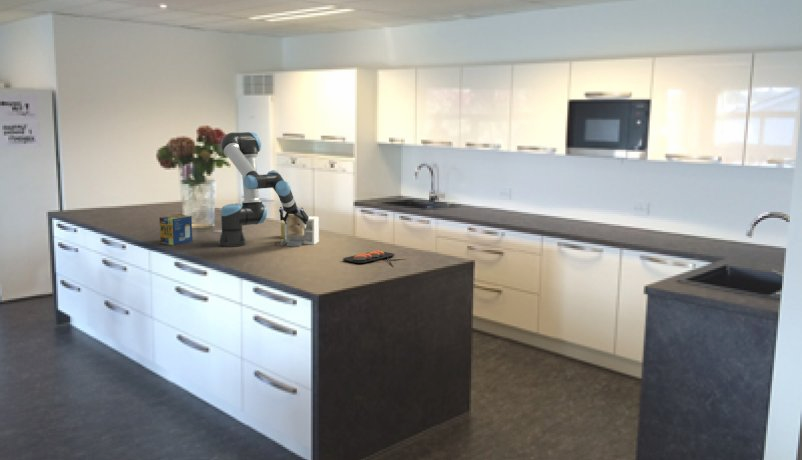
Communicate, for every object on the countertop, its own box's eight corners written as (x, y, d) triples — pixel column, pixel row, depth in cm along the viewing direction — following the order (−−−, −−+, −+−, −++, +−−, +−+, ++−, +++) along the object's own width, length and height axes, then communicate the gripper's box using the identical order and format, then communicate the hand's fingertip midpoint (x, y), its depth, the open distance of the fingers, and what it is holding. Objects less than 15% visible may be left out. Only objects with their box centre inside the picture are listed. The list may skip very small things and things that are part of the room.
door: (287, 235, 389) (286, 214, 387) (289, 234, 393) (289, 213, 392) (302, 235, 388) (301, 215, 386) (304, 234, 392) (304, 214, 390)
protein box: (160, 243, 392) (158, 217, 389) (180, 239, 405) (179, 214, 403) (173, 245, 387) (172, 218, 384) (193, 241, 400) (192, 215, 398)
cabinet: (280, 245, 391) (280, 220, 388) (290, 240, 408) (289, 215, 405) (310, 246, 388) (310, 221, 385) (319, 241, 405) (318, 216, 403)
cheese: (301, 236, 422) (300, 220, 420) (296, 239, 411) (296, 223, 410) (284, 235, 423) (284, 220, 421) (280, 238, 412) (279, 222, 411)
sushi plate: (377, 253, 374) (377, 247, 373) (419, 261, 355) (419, 254, 355) (340, 262, 352) (340, 255, 351) (383, 271, 333) (383, 263, 332)
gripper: (268, 207, 375) (278, 231, 393) (305, 208, 372) (314, 232, 390) (271, 197, 379) (281, 220, 397) (308, 198, 376) (316, 222, 394)
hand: (297, 226), depth 394 cm, fingers closed on door, 9 cm apart
